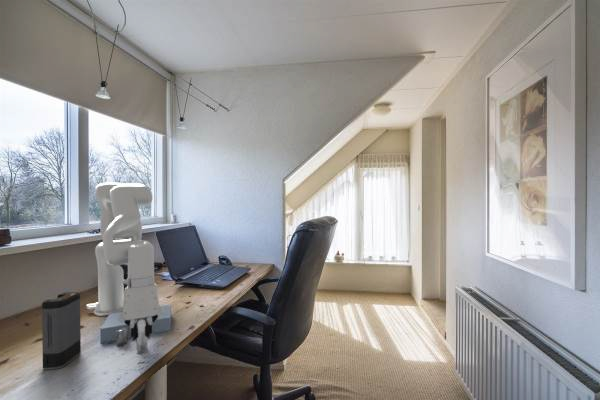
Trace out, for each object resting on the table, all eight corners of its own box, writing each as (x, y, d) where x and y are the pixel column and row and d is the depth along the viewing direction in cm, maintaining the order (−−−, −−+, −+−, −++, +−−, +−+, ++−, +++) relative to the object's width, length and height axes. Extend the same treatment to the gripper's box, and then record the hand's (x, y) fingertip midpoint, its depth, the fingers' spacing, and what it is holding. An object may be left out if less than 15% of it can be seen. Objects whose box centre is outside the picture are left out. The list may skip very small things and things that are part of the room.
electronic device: (63, 353, 90) (63, 292, 90) (83, 352, 91) (82, 291, 91) (39, 370, 81) (38, 302, 81) (61, 369, 81) (60, 301, 81)
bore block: (100, 343, 96) (100, 328, 96) (109, 326, 109) (109, 313, 109) (170, 330, 105) (169, 317, 105) (171, 316, 118) (170, 304, 118)
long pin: (135, 354, 89) (135, 314, 89) (137, 349, 92) (136, 310, 92) (147, 352, 90) (146, 312, 90) (148, 347, 93) (147, 309, 93)
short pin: (115, 347, 93) (115, 332, 93) (117, 343, 96) (117, 328, 96) (126, 345, 94) (126, 330, 94) (128, 341, 97) (127, 326, 97)
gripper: (108, 288, 84) (109, 348, 84) (168, 281, 91) (169, 337, 91) (114, 281, 91) (114, 337, 91) (169, 275, 98) (169, 327, 98)
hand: (141, 336), depth 91 cm, fingers closed on long pin, 3 cm apart
